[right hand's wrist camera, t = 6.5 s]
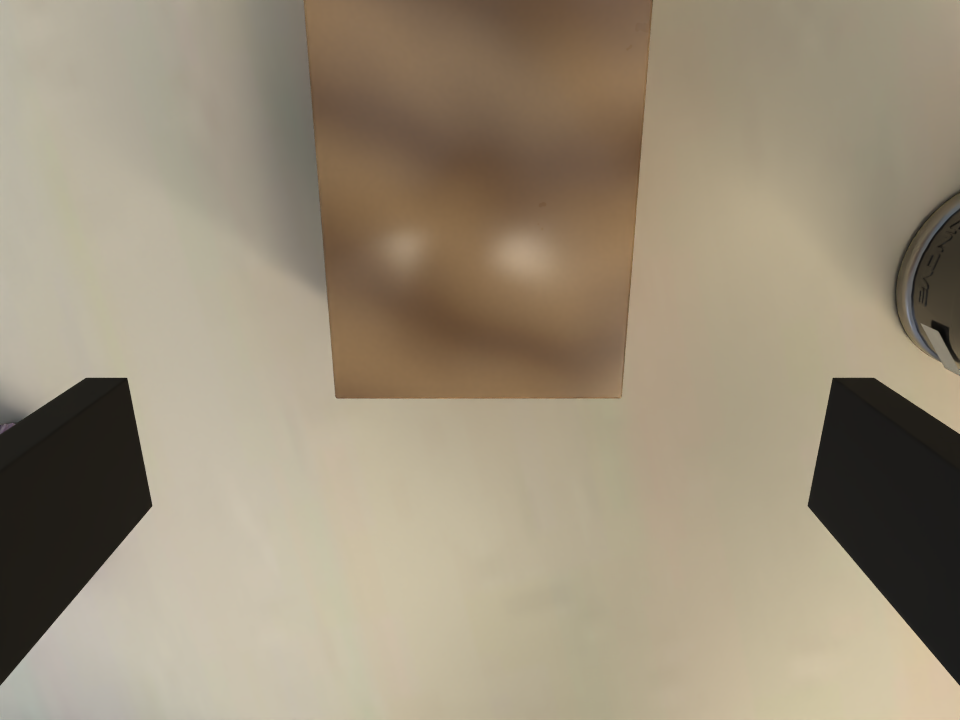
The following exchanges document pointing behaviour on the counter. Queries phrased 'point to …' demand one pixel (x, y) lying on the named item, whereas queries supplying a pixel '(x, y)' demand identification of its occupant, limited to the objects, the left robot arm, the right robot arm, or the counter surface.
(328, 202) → the cabinet
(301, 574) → the counter surface
